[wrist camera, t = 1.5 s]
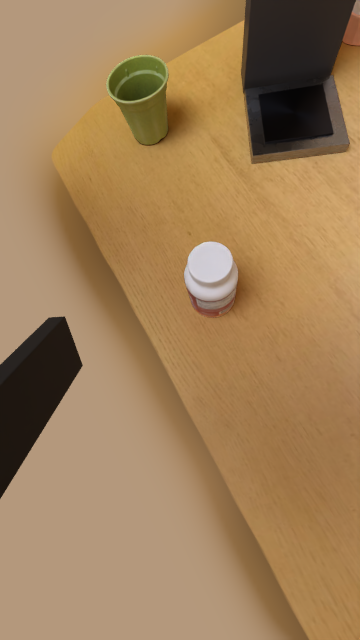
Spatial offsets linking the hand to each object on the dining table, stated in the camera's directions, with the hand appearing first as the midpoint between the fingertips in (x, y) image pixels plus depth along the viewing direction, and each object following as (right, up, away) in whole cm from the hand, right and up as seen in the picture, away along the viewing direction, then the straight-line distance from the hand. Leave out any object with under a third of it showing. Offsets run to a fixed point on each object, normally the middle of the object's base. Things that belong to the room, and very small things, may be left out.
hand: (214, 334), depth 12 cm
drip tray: (+17, +33, +33) cm, 49 cm away
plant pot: (-7, +34, +37) cm, 50 cm away
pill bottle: (+3, +4, +27) cm, 28 cm away
